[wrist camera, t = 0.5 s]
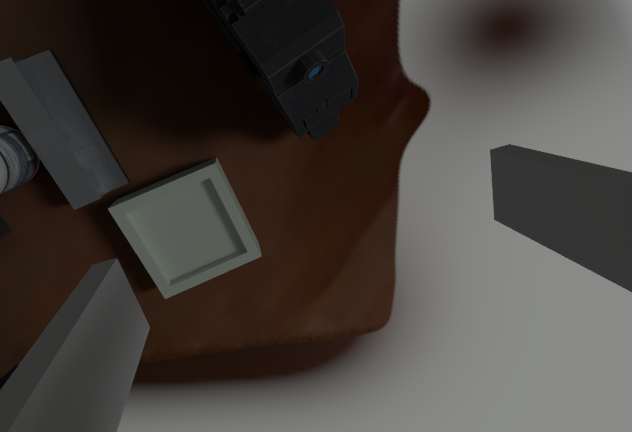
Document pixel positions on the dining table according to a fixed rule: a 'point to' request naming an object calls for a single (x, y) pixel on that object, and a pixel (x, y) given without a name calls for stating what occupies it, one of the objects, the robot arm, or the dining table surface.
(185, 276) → the tray
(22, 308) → the dining table surface
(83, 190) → the socket
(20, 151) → the pill bottle
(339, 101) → the tool
